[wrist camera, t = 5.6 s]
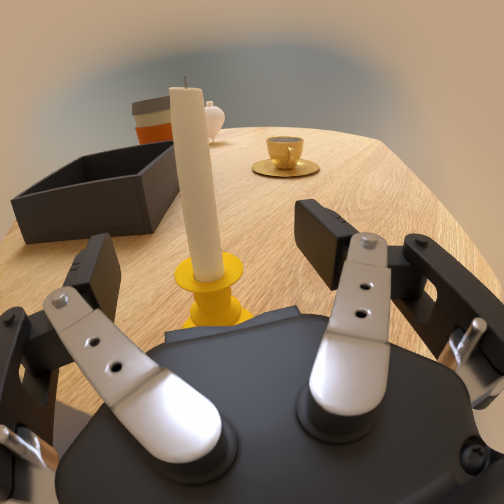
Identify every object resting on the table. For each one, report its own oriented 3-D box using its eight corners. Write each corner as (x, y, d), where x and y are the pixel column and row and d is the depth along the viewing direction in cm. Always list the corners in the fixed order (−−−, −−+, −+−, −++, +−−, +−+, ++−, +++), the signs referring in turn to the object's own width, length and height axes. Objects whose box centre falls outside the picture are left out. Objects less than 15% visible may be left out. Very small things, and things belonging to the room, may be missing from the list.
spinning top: (201, 141, 81) (197, 102, 75) (227, 139, 81) (224, 99, 75) (197, 146, 75) (193, 103, 68) (226, 143, 75) (222, 100, 68)
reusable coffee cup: (136, 174, 56) (125, 104, 48) (145, 160, 66) (136, 102, 59) (195, 164, 58) (187, 93, 50) (194, 152, 68) (188, 93, 60)
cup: (248, 162, 56) (246, 136, 53) (307, 159, 57) (307, 133, 54) (257, 181, 45) (256, 148, 43) (329, 176, 47) (330, 144, 44)
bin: (25, 244, 33) (10, 200, 29) (88, 189, 51) (81, 156, 48) (153, 233, 32) (140, 175, 29) (189, 176, 51) (184, 138, 47)
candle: (263, 311, 21) (252, 71, 13) (252, 370, 16) (228, 64, 8) (194, 306, 22) (157, 83, 13) (171, 359, 17) (101, 90, 9)
